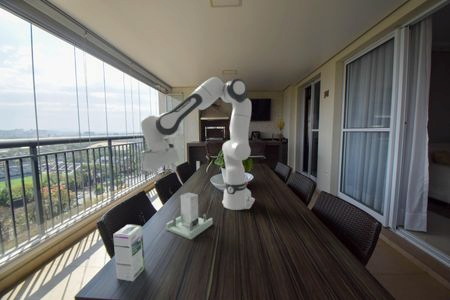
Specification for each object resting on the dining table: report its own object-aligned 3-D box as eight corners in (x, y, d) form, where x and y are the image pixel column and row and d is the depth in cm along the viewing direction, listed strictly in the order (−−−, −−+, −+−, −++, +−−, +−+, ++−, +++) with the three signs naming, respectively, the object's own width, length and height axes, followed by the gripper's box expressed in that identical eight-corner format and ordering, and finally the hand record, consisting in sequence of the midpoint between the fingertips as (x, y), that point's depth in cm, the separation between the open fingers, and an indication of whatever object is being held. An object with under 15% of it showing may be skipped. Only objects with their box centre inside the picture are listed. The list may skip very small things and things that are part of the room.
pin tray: (189, 216, 96) (188, 207, 96) (212, 224, 88) (212, 213, 88) (166, 229, 84) (165, 218, 83) (191, 239, 76) (190, 227, 75)
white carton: (189, 220, 90) (188, 192, 88) (198, 223, 86) (198, 194, 85) (181, 224, 85) (180, 195, 84) (191, 228, 82) (190, 197, 81)
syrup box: (133, 282, 54) (130, 235, 53) (115, 279, 55) (112, 233, 54) (145, 268, 60) (143, 225, 58) (129, 265, 61) (126, 223, 60)
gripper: (143, 149, 81) (152, 179, 81) (176, 144, 99) (185, 168, 98) (135, 153, 85) (144, 182, 84) (169, 147, 102) (177, 171, 102)
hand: (166, 174), depth 91 cm, fingers open, 8 cm apart
